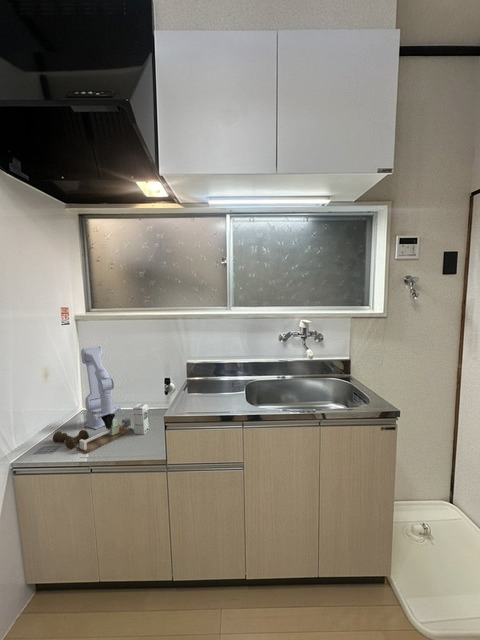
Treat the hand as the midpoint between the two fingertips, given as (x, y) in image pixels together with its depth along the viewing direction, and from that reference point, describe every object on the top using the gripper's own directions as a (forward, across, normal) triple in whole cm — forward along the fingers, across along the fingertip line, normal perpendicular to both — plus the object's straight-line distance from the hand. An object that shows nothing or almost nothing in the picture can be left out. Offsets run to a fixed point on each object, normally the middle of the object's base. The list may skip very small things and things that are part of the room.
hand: (108, 428), depth 160 cm
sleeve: (+4, +3, 0) cm, 5 cm away
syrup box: (+6, +14, -9) cm, 17 cm away
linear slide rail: (+4, -1, 0) cm, 5 cm away
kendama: (+6, -13, +12) cm, 18 cm away
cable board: (+5, -2, 0) cm, 6 cm away
